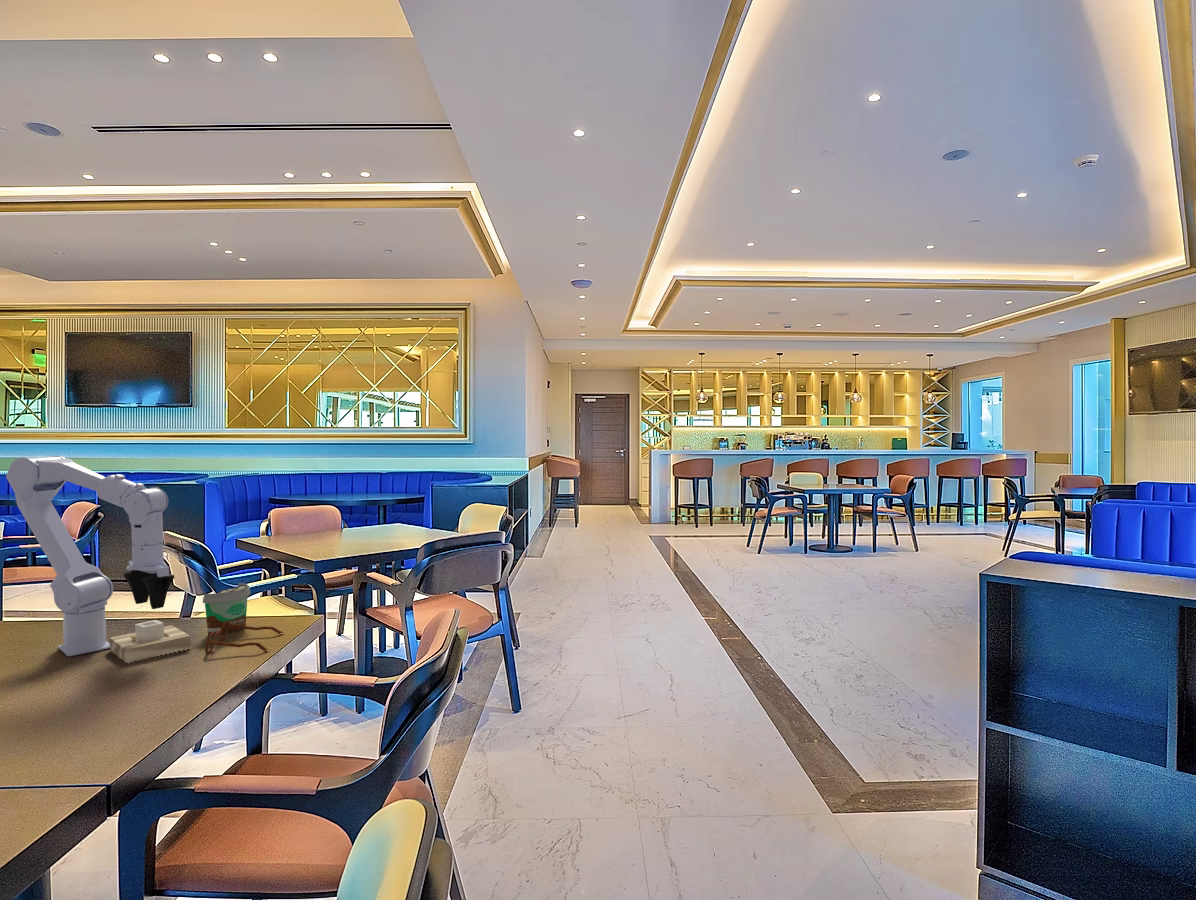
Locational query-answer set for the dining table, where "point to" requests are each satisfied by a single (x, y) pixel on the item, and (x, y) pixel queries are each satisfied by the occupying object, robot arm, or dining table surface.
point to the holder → (149, 645)
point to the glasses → (234, 643)
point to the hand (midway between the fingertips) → (149, 605)
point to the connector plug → (149, 631)
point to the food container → (226, 608)
